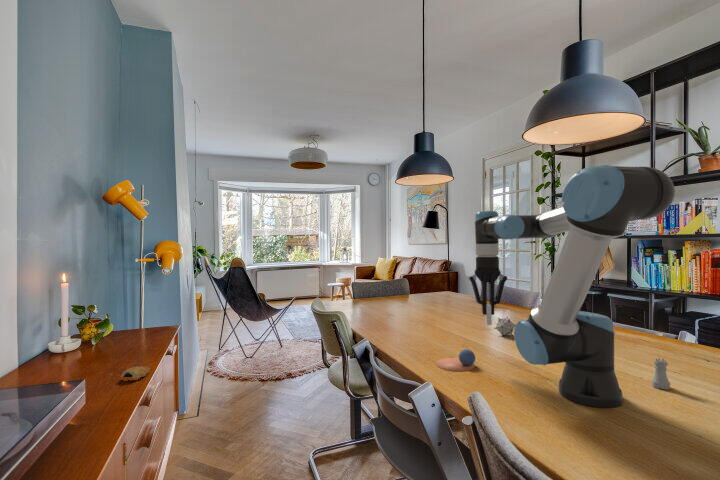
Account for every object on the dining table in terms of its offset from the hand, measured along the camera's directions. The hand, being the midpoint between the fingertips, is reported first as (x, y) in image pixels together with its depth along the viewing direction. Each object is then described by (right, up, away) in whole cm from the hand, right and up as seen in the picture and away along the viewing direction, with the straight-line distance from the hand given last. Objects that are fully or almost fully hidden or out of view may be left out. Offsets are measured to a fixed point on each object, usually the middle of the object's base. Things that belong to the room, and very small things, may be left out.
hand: (488, 323), depth 128 cm
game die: (+20, -14, +37) cm, 44 cm away
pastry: (-120, -18, -3) cm, 122 cm away
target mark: (-11, -15, +2) cm, 18 cm away
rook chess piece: (+43, -14, -21) cm, 50 cm away
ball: (-7, -12, 0) cm, 14 cm away
